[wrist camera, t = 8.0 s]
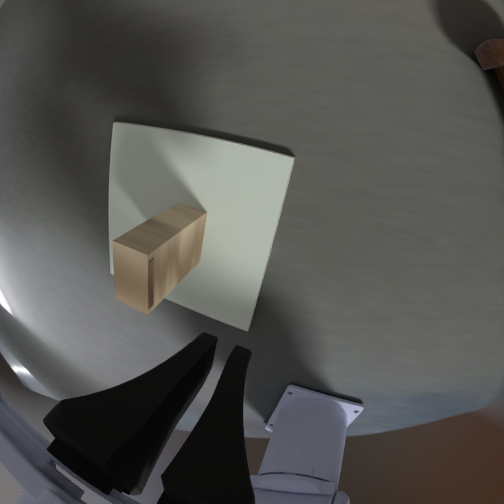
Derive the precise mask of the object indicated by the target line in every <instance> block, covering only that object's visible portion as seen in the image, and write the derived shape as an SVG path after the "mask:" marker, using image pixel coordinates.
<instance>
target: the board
mask: <svg viewBox="0 0 504 504" xmlns="http://www.w3.org/2000/svg"><path fill="white" fill-rule="evenodd" d="M294 161H295V157H293V156H290V155H286V154H282V153H279V152H275V151H271V150H267V149H263V148H259V147H255V146H251V145H247V144H243V143H238V142H234V141H229V140H225V139H220V138H215V137H211V136H206V135H201V134H195V133H190V132H184V131H179V130H173V129H167V128H161V127H154V126H147V125H140V124H132V123H124V122H113V131H112V142H111V155H110V173H109V251H110V269H111V274H113V275H114V267H113V243H112V241H113V240H114V239H116V238H118V237H119V236H121V235H123V234H124V233H126V232H128V231H129V230H131V229H133V228H134V227H136V226H138V225H140V224H141V223H143V222H145V221H146V220H148V219H150V218H152V217H153V216H155V215H157V214H159V213H161V212H162V211H164V210H166V209H168V208H169V207H171V206H173V205H175V204H177V203H178V204H182V205H185V206H188V207H191V208H195V209H198V210H201V211H205V212H207V216H206V223H205V230H204V237H203V244H202V251H201V258H200V262H199V263H198V264H197V265H196V266H195V267H194V268H193V269H192V270H191V271H190V272H189V273H188V274H187V275H186V276H185V277H184V278H183V279H182V280H181V281H180V282H179V283H178V284H177V285H176V286H175V287H174V289H173V290H172V291H171V292H170V293H169V294H168V295H167V296H166V297H165V299H167V300H170V301H172V302H174V303H177V304H179V305H181V306H184V307H186V308H189V309H191V310H193V311H196V312H198V313H201V314H203V315H206V316H208V317H211V318H213V319H216V320H218V321H221V322H223V323H226V324H229V325H231V326H234V327H237V328H239V329H242V330H245V331H247V332H248V330H249V328H250V325H251V321H252V318H253V314H254V311H255V307H256V303H257V300H258V296H259V293H260V289H261V285H262V282H263V278H264V274H265V271H266V267H267V263H268V260H269V256H270V252H271V249H272V245H273V241H274V237H275V234H276V230H277V226H278V222H279V219H280V215H281V211H282V207H283V203H284V199H285V196H286V192H287V188H288V184H289V180H290V176H291V172H292V168H293V165H294Z"/></svg>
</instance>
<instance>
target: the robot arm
mask: <svg viewBox="0 0 504 504" xmlns="http://www.w3.org/2000/svg"><path fill="white" fill-rule="evenodd" d="M216 343H217V337H215V336H212V335H210V334H207V333H205V332H204V333H201V334H200V335H199V336H198V337H197V338H196V339H194V340H193V341H192V342H191V343H189V344H188V345H187V346H186V347H184V348H183V349H182V350H180V351H179V352H178V353H176V354H175V355H173V356H172V357H170V358H169V359H167V360H166V361H164V362H163V363H161V364H160V365H158V366H156V367H155V368H153V369H151V370H149V371H148V372H146V373H144V374H142V375H140V376H138V377H136V378H134V379H132V380H130V381H127V382H125V383H122V384H120V385H118V386H115V387H112V388H109V389H106V390H103V391H100V392H96V393H93V394H89V395H85V396H80V397H75V398H70V399H64V400H62V401H60V403H58V404H57V405H56V406H55V407H54V408H53V409H52V410H51V411H50V412H49V413H48V414H47V416H46V417H45V418H44V419H43V422H44V424H45V426H46V427H47V428H48V430H49V431H50V432H51V433H52V435H53V436H54V437H55V439H54V441H53V442H52V443H50V442H49V441H48V440H47V439H45V438H44V437H43V436H42V435H41V434H40V433H39V432H38V431H37V430H35V429H34V428H33V427H32V426H31V425H30V424H29V423H28V422H27V421H26V420H25V419H24V418H23V417H22V416H21V415H20V414H19V413H18V412H17V411H16V410H15V409H14V408H13V407H12V406H11V405H10V404H9V403H8V402H7V400H6V399H5V398H4V397H3V396H2V395H1V393H0V463H1V464H2V465H3V466H4V468H5V469H6V470H7V471H8V472H9V474H10V475H11V476H12V477H13V478H14V479H15V480H16V481H17V482H18V484H19V485H20V486H21V487H22V488H23V489H24V490H25V491H24V492H23V494H22V495H21V496H20V498H19V499H18V500H17V501H16V503H15V504H87V503H86V502H84V501H83V500H81V497H82V495H83V494H84V491H83V490H82V489H81V488H79V487H78V486H77V485H75V484H74V483H73V482H71V481H70V480H69V479H68V478H67V477H65V476H64V475H63V474H61V473H60V472H59V471H58V470H57V469H56V464H57V465H58V466H60V467H61V468H62V469H63V470H65V471H66V472H67V473H69V474H70V475H71V476H72V477H74V478H75V479H77V480H78V481H79V482H81V483H82V484H83V485H85V486H86V487H88V488H89V489H91V490H92V491H94V492H95V493H97V494H98V495H100V496H101V497H103V498H105V499H106V500H108V501H109V502H111V503H112V504H140V503H138V502H137V501H135V500H133V499H131V498H129V497H127V496H125V495H124V494H122V492H124V493H126V494H128V495H130V494H131V495H139V494H141V493H142V491H143V489H144V487H145V485H146V482H147V480H148V478H149V476H150V474H151V472H152V470H153V468H154V466H155V464H156V462H157V460H158V458H159V456H160V454H161V453H162V451H163V449H164V447H165V445H166V443H167V441H168V439H169V437H170V435H171V434H172V432H173V430H174V428H175V427H176V425H177V423H178V422H179V420H180V419H181V417H182V416H183V414H184V413H185V412H186V410H187V409H188V407H189V406H190V404H191V403H192V401H193V400H194V398H195V397H196V395H197V394H198V392H199V391H200V389H201V388H202V386H203V384H204V382H205V380H206V378H207V376H208V374H209V372H210V370H211V368H212V365H213V360H214V354H215V349H216ZM251 354H252V352H251V351H250V350H249V349H246V348H243V347H240V346H238V345H236V346H235V348H234V349H233V351H232V352H231V354H230V356H229V357H228V360H227V362H226V364H225V367H224V369H223V372H222V374H221V376H220V379H219V381H218V384H217V386H216V389H215V391H214V393H213V396H212V398H211V400H210V402H209V404H208V406H207V407H206V409H205V411H204V412H203V414H202V416H201V417H200V419H199V421H198V422H197V424H196V425H195V427H194V429H193V430H192V432H191V433H190V435H189V437H188V438H187V440H186V441H185V443H184V444H183V446H182V447H181V449H180V450H179V452H178V453H177V455H176V456H175V457H174V459H173V460H172V462H171V463H170V465H169V466H168V467H167V469H166V470H165V471H164V473H163V474H162V475H161V479H162V483H163V487H164V492H163V493H162V495H161V497H160V498H159V500H158V502H157V504H349V497H348V496H346V495H345V492H338V491H337V486H338V481H339V475H340V469H341V463H342V457H343V450H344V444H345V437H346V429H347V427H348V426H349V424H350V423H351V422H352V421H353V420H354V419H355V418H356V417H357V416H358V415H359V414H360V413H361V412H362V410H363V409H364V405H363V404H360V403H356V402H352V401H348V400H344V399H340V398H337V397H333V396H329V395H326V394H322V393H319V392H315V391H312V390H309V389H305V388H302V387H299V386H296V385H288V386H287V388H286V390H285V392H284V394H283V396H282V397H281V399H280V401H279V403H278V405H277V407H276V408H275V410H274V412H273V414H272V415H271V417H270V419H269V421H268V422H267V424H266V426H265V429H266V430H268V431H272V435H271V438H270V441H269V444H268V447H267V450H266V453H265V456H264V459H263V462H262V464H261V467H260V470H259V473H258V475H257V476H254V475H250V474H249V469H248V463H247V456H246V450H245V440H244V427H243V398H244V385H245V377H246V371H247V367H248V364H249V361H250V358H251ZM54 462H55V463H56V464H55V463H54Z"/></svg>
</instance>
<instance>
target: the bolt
mask: <svg viewBox="0 0 504 504" xmlns="http://www.w3.org/2000/svg"><path fill="white" fill-rule="evenodd" d="M471 48H472V50H473V52H474V54H475V56H476V58H477V60H478V62H479V64H480V66H481V68H482V70H487V69H491V68H494V70H495V72H496V75H497V77H498V79H499V81H500V84H501V86H502V89H503V91H504V36H501V37H497V38H494V39H489V40H487V41H484V42H482V43H479V44H477V45H475V46H473V47H471Z"/></svg>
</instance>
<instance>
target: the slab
mask: <svg viewBox="0 0 504 504" xmlns="http://www.w3.org/2000/svg"><path fill="white" fill-rule="evenodd" d="M206 216H207V212H205V211H201V210H198V209H195V208H191V207H188V206H185V205H182V204H178V203H177V204H175V205H173V206H171V207H169V208H168V209H166V210H164V211H162V212H161V213H159V214H157V215H155V216H153V217H152V218H150V219H148V220H146V221H145V222H143V223H141V224H140V225H138V226H136V227H134V228H133V229H131V230H129V231H128V232H126V233H124V234H123V235H121V236H119V237H118V238H116V239H114V240H113V241H112V243H113V267H114V282H115V293H116V299H117V300H119V301H121V302H123V303H125V304H127V305H129V306H131V307H133V308H135V309H137V310H139V311H141V312H143V313H145V314H147V315H148V314H149V313H150V312H151V311H152V310H153V309H154V308H155V307H156V306H157V305H158V304H159V303H160V302H161V301H162V300H163V299H164V298H165V297H166V296H167V295H168V294H169V293H170V292H171V291H172V290H173V289H174V287H175V286H176V285H177V284H178V283H179V282H180V281H181V280H182V279H183V278H184V277H185V276H186V275H187V274H188V273H189V272H190V271H191V270H192V269H193V268H194V267H195V266H196V265H197V264H198V263H199V262H200V258H201V251H202V244H203V237H204V230H205V223H206Z"/></svg>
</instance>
